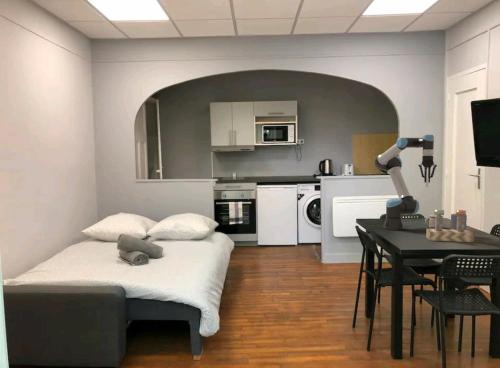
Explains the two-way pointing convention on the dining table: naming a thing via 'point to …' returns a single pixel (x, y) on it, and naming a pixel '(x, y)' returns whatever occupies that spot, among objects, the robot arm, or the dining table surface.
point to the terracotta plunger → (461, 213)
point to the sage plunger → (439, 212)
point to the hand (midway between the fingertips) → (427, 186)
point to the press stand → (450, 232)
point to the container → (454, 221)
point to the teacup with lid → (431, 220)
